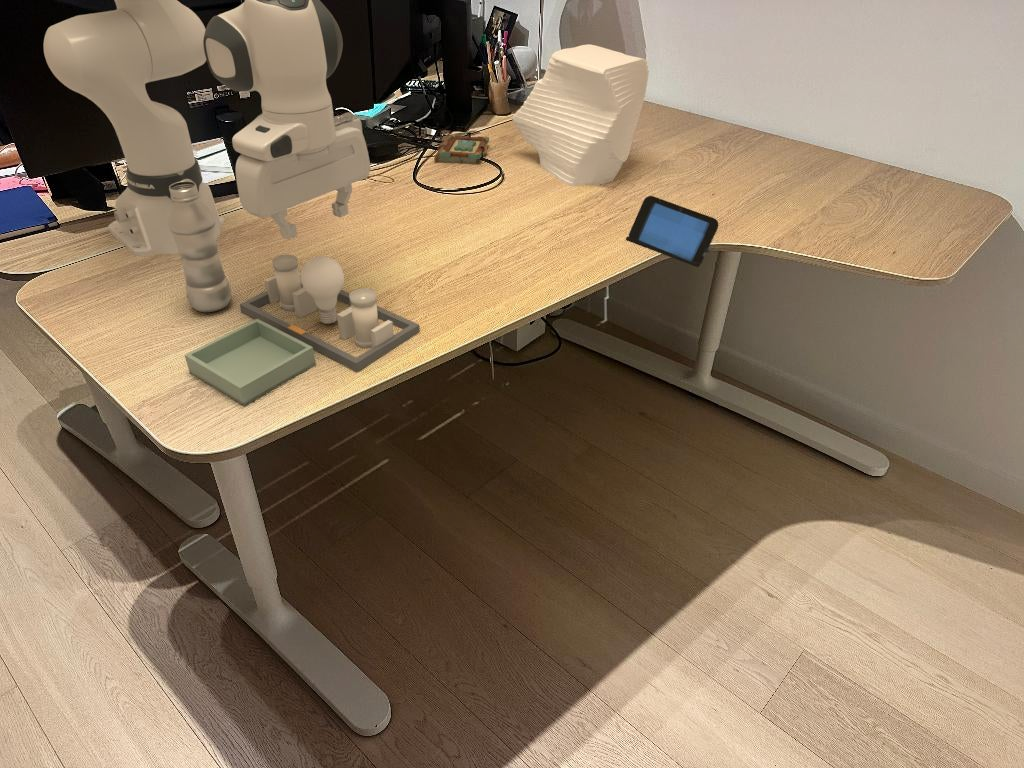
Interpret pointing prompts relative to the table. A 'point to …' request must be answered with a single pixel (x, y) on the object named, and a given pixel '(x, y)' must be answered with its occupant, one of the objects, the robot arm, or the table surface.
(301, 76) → the robot arm
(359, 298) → the cylinder
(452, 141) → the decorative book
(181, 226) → the plastic bottle
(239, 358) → the tray
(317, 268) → the lightbulb
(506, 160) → the table surface
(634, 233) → the small black monitor
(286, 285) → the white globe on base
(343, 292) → the rail
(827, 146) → the table surface
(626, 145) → the white ridged sculpture
